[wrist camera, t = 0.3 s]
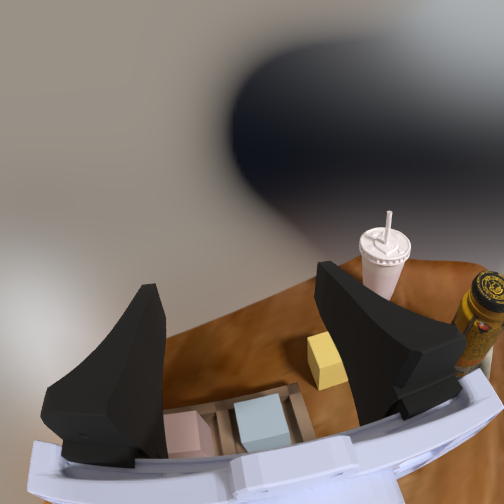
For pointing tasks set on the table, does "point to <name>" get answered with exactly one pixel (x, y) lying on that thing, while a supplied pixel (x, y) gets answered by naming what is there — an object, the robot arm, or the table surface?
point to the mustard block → (325, 361)
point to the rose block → (187, 436)
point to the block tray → (226, 426)
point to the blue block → (262, 423)
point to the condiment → (480, 322)
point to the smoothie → (383, 258)
